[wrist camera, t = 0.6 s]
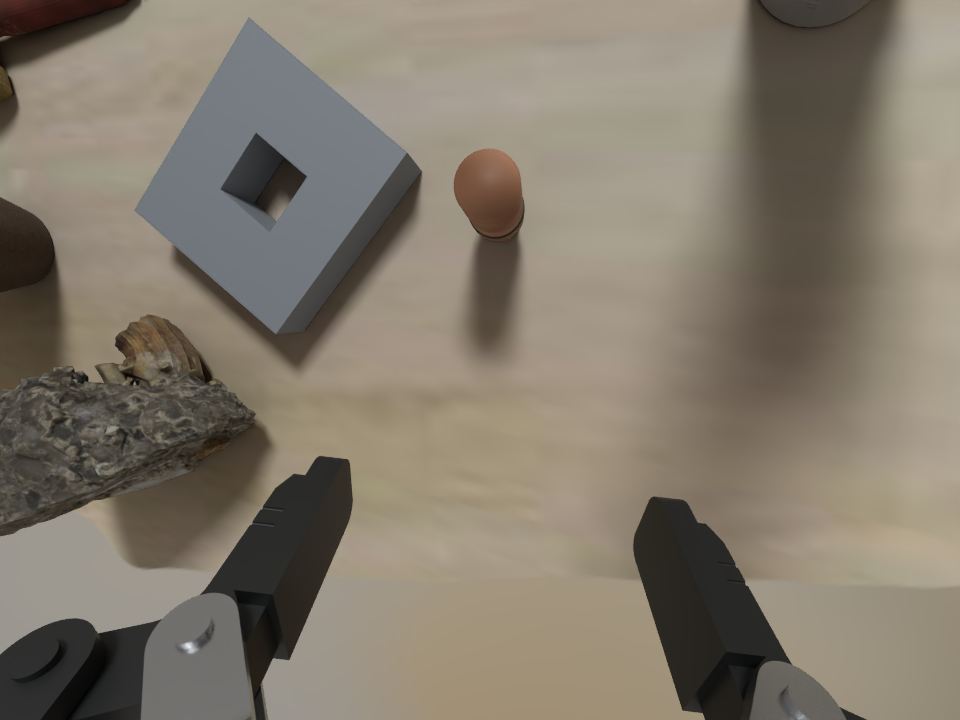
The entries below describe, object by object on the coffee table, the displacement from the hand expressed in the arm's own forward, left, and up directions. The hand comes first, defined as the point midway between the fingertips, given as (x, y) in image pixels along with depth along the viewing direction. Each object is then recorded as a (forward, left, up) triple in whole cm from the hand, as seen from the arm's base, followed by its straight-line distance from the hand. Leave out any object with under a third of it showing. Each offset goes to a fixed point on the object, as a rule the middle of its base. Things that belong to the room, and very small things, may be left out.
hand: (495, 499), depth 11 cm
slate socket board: (+2, -26, -24) cm, 35 cm away
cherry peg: (-8, -9, -24) cm, 27 cm away
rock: (+24, -23, -24) cm, 41 cm away
